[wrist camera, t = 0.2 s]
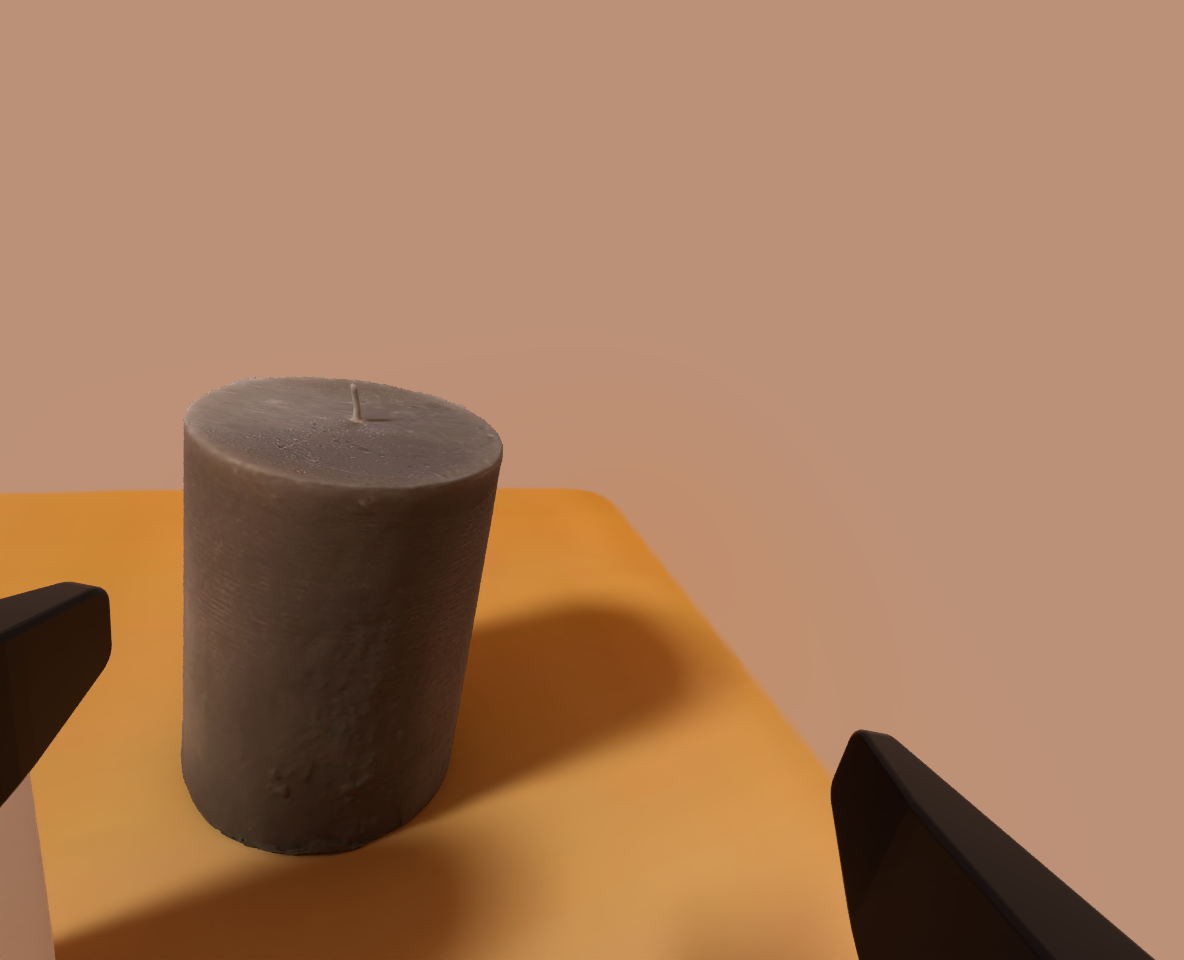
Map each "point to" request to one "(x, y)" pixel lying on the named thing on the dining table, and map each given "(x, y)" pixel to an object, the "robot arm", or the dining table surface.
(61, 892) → the dining table surface
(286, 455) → the pillar candle
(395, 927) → the dining table surface
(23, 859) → the can
